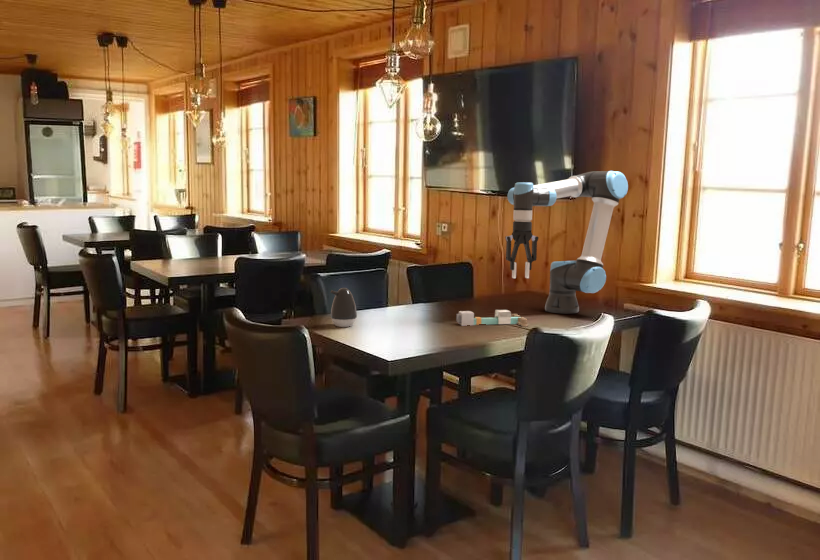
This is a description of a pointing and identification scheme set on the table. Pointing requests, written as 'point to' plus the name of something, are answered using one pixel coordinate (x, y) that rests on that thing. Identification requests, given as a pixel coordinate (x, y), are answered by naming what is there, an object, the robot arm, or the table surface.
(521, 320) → the comb
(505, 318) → the sleeve
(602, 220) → the robot arm
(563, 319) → the table surface
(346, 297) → the pump dispenser
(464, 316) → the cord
